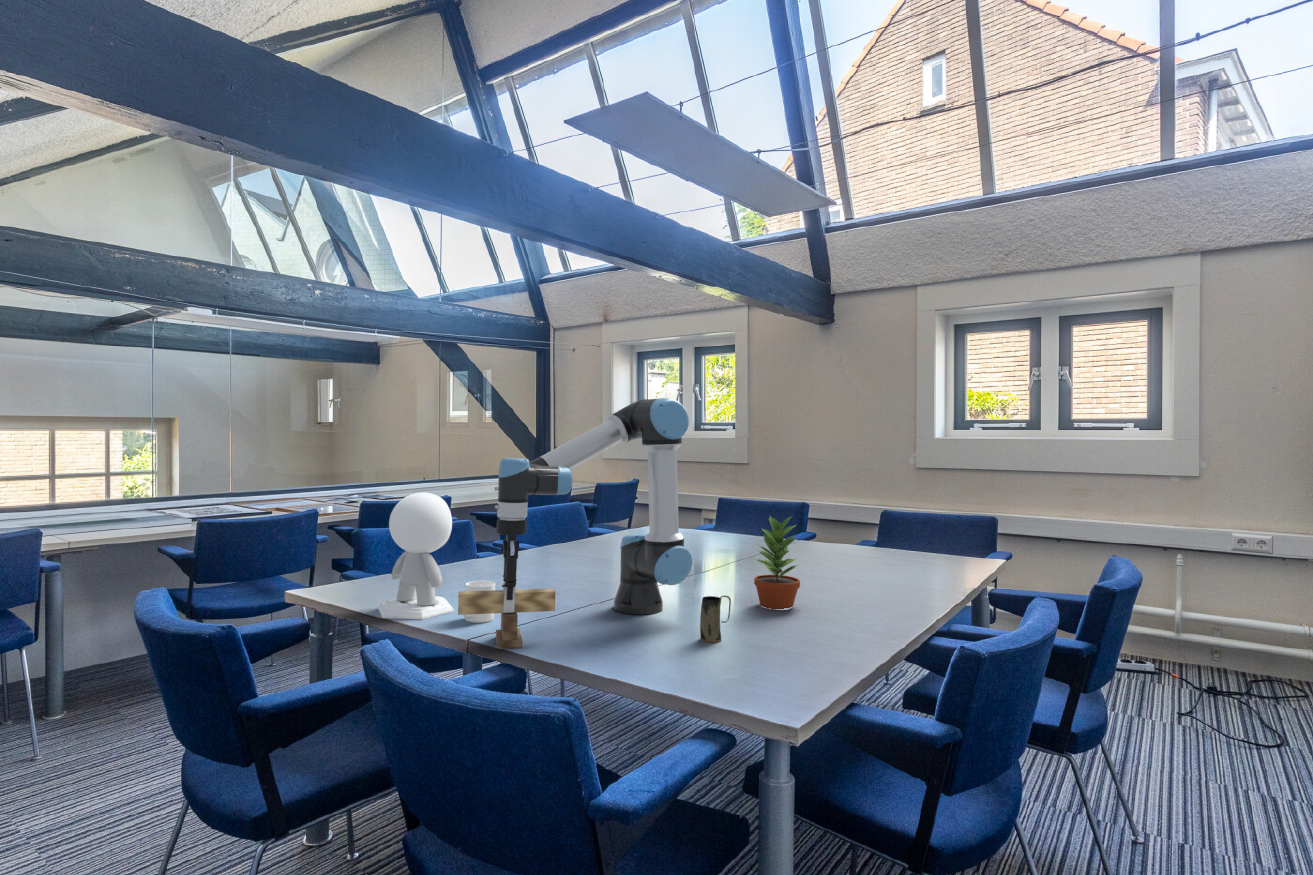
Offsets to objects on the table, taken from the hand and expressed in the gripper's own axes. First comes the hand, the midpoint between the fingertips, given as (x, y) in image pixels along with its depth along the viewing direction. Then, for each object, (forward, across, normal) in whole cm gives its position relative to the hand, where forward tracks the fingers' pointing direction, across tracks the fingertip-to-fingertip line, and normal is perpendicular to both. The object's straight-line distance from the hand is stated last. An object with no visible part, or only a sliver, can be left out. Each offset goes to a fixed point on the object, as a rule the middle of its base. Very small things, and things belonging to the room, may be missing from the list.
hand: (508, 609), depth 176 cm
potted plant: (+7, -23, +85) cm, 89 cm away
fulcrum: (+8, 0, 0) cm, 8 cm away
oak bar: (0, 0, 0) cm, 0 cm away
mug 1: (+9, -22, -8) cm, 25 cm away
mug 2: (+8, +8, +53) cm, 55 cm away
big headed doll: (+9, -37, -25) cm, 45 cm away
